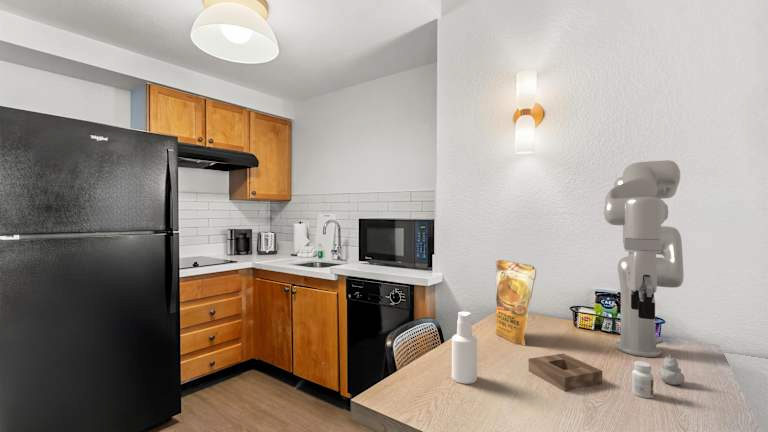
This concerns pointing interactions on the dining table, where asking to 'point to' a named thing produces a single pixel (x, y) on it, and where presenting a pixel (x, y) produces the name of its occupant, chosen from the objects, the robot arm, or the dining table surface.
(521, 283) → the pancake mix bag
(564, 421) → the dining table surface
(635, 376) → the pill bottle
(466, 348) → the spray bottle
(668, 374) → the grey swirl figurine
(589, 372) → the holder block
